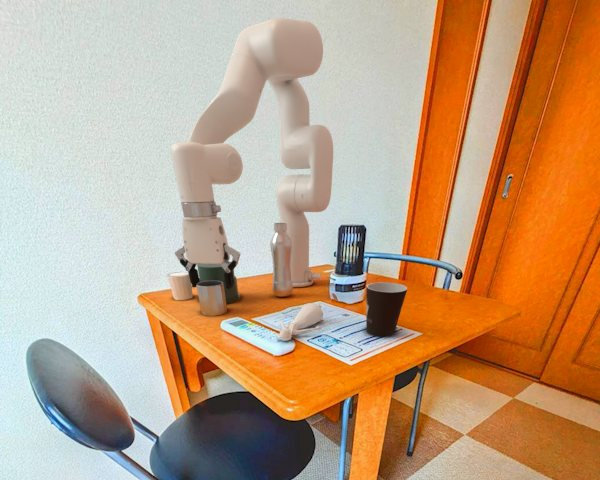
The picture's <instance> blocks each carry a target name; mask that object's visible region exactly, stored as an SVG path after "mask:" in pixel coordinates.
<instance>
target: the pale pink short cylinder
mask: <svg viewBox="0 0 600 480" xmlns="http://www.w3.org/2000/svg"><path fill="white" fill-rule="evenodd" d="M166 278H167V282H168V284H169V287H170V290H171V293H172V297H173V299H174V300H175V301H186V300H191V299H193V298H194V297H193V295H194V294H193V287H192V284H191V282H190V277H189V273H188V271H176V272H175V271H174V272H170V273H167V274H166Z"/></svg>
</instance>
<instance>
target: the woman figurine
mask: <svg viewBox="0 0 600 480" xmlns="http://www.w3.org/2000/svg"><path fill="white" fill-rule="evenodd" d="M323 317H324V312H323V309H322V305H321V304H319V305H318V304H316V303H313V302H312V303H311V302H310V303H308V302H307V303H305V304H303V305H302V306H301V308H300V309H299V311H298V313H297V314H296V316H295V317H294V319H292V322H291V321H288V323H287V324H286V326H285V325H284V324H283V322H282V319H281V318H278V319H277V322H278V324H279V325H280V327H281V328H282V329H281V330H280V331H279V334H278V338H279V340H281V341H283V342H288V341H290V340H292V337H293V336H297V335H299V334H301V333H306V332H312V331H319V330H322V329H323V326H320V325H316V326H315V327H311V326H314V325H315V324H317V323H319V322H321V321H322V320H323ZM308 327H311V328H308ZM280 337H281V338H280ZM284 338H286V339H284Z"/></svg>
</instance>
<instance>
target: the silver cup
mask: <svg viewBox="0 0 600 480" xmlns="http://www.w3.org/2000/svg"><path fill="white" fill-rule="evenodd" d="M196 285H197V287H196V290H197V296H198V302H199V306H200V312H201V314H202V315H203V316H207V317H215V316H221V315H224V314H226V313H227V312H228V308H227V304H226V298H225V291H224V284H223V282H222V281H216V280H210V281H202V282H199V283H197V284H196Z"/></svg>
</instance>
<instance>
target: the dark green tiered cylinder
mask: <svg viewBox="0 0 600 480" xmlns="http://www.w3.org/2000/svg"><path fill="white" fill-rule="evenodd" d="M229 262H230V263H231V262H232V261H229ZM196 268H197V270H198V275H199V280H200V282H202V281H210V280H216V281H222V282H223V284H224V291H225V298H226V305H228V304H232V303H236V302H238V301H239V300H240V299H241V293H240V292H239V290H238V289H239V287H238V278H237V276H236V275H235V269H234V270H233V278H234V284H233V287H231V288H230V289H227V288H226V284H225V278H224V273H225V272H226V271H225V270H224V269H223V268H222V266H221V265H220V264H218V265H213V264H197V265H196Z"/></svg>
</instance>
